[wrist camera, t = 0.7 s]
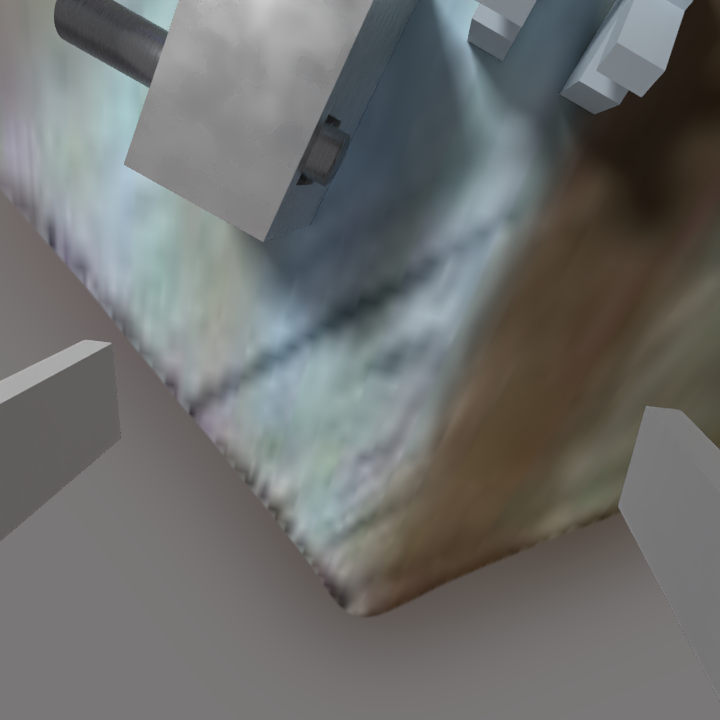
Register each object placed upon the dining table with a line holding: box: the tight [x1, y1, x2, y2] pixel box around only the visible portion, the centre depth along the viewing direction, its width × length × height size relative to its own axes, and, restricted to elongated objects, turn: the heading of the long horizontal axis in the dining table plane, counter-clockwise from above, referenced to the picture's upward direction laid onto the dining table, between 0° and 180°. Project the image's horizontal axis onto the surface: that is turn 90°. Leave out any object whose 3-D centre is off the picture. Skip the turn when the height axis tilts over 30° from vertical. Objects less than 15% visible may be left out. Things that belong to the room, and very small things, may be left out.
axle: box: [54, 0, 351, 187], centre depth 29 cm, size 16×3×3 cm, turn 62°
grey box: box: [124, 0, 418, 242], centre depth 30 cm, size 8×16×11 cm, turn 152°
